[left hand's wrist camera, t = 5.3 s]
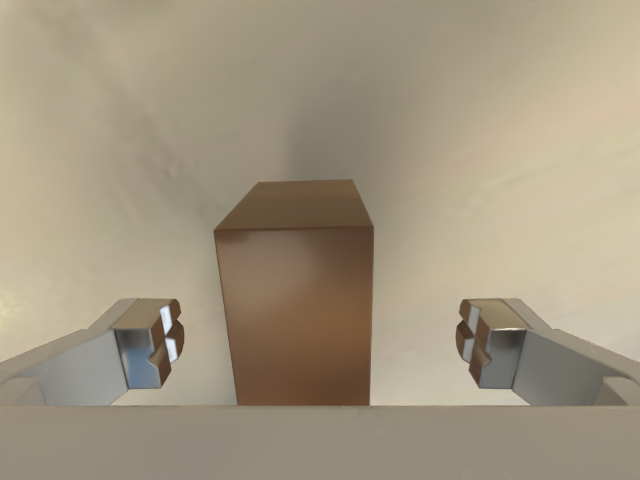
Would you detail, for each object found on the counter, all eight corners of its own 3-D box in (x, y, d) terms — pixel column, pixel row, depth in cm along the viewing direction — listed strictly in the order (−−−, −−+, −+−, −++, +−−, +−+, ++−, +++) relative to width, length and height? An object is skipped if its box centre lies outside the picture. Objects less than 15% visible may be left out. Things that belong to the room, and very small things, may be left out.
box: (257, 181, 23) (212, 229, 14) (353, 179, 23) (374, 225, 13) (283, 469, 32) (267, 619, 23) (351, 468, 32) (364, 618, 23)
